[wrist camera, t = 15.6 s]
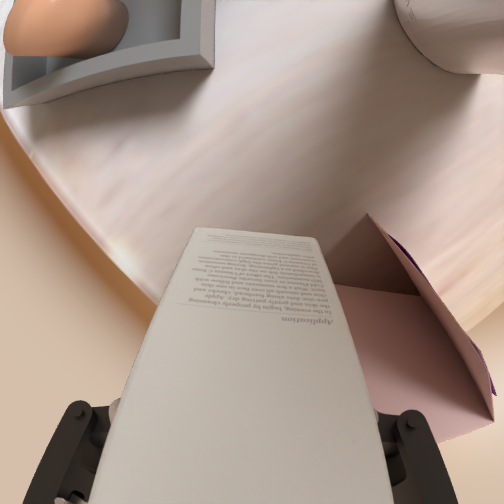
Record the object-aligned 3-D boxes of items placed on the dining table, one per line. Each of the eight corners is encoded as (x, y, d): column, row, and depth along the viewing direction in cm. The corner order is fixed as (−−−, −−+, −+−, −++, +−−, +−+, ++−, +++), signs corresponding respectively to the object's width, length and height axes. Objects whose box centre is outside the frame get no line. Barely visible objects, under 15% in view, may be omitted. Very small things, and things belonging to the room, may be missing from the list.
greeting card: (428, 291, 23) (504, 414, 10) (370, 335, 26) (416, 468, 13) (376, 206, 19) (505, 355, 6) (301, 266, 22) (344, 454, 9)
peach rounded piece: (127, -12, 11) (70, -44, 4) (131, 44, 13) (68, 25, 7) (69, 16, 11) (5, 4, 5) (73, 70, 13) (3, 72, 7)
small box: (292, 345, 18) (305, 543, 7) (196, 336, 18) (156, 533, 6) (320, 233, 14) (406, 527, 3) (193, 221, 14) (73, 510, 2)
